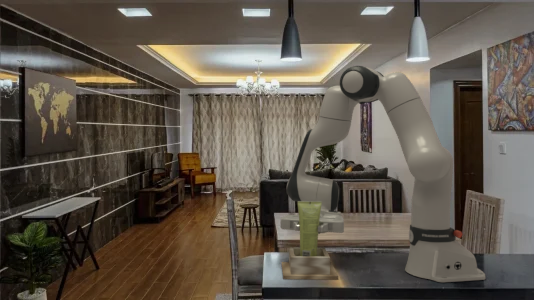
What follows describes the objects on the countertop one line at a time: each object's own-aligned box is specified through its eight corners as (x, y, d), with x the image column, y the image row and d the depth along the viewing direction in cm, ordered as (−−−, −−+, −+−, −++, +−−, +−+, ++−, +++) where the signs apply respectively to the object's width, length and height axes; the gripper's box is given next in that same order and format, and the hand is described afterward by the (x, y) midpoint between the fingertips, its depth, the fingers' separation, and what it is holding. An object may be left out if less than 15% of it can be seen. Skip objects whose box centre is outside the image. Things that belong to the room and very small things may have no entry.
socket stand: (331, 265, 138) (331, 246, 138) (338, 279, 124) (338, 258, 124) (281, 264, 138) (281, 246, 138) (283, 279, 124) (283, 258, 124)
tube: (307, 261, 135) (308, 199, 134) (320, 264, 132) (321, 201, 131) (296, 264, 131) (297, 201, 130) (310, 268, 127) (311, 203, 127)
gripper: (285, 209, 146) (275, 216, 132) (346, 212, 140) (342, 220, 127) (285, 227, 146) (275, 237, 132) (345, 231, 141) (342, 241, 127)
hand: (308, 228), depth 130 cm, fingers closed on tube, 6 cm apart
